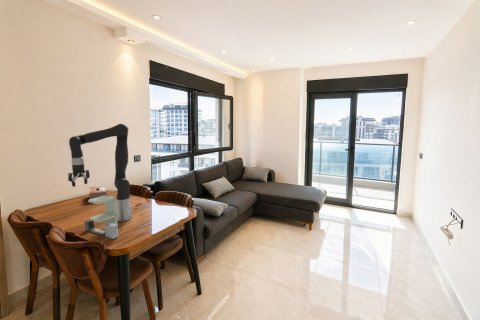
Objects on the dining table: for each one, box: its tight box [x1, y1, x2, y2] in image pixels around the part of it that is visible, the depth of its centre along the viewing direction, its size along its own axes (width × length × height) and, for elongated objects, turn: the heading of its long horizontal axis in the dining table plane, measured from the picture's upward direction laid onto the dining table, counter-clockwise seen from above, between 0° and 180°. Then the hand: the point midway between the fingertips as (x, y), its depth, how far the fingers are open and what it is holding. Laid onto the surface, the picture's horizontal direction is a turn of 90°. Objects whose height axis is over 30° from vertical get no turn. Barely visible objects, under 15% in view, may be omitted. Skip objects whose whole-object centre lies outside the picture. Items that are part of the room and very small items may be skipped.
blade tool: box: [84, 219, 105, 236], centre depth 175 cm, size 4×18×7 cm, turn 64°
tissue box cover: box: [88, 185, 107, 200], centre depth 251 cm, size 26×14×10 cm, turn 30°
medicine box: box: [103, 223, 120, 240], centre depth 168 cm, size 8×4×9 cm, turn 65°
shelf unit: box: [87, 194, 119, 225], centre depth 172 cm, size 13×10×25 cm
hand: (80, 185), depth 185 cm, fingers open, 8 cm apart
